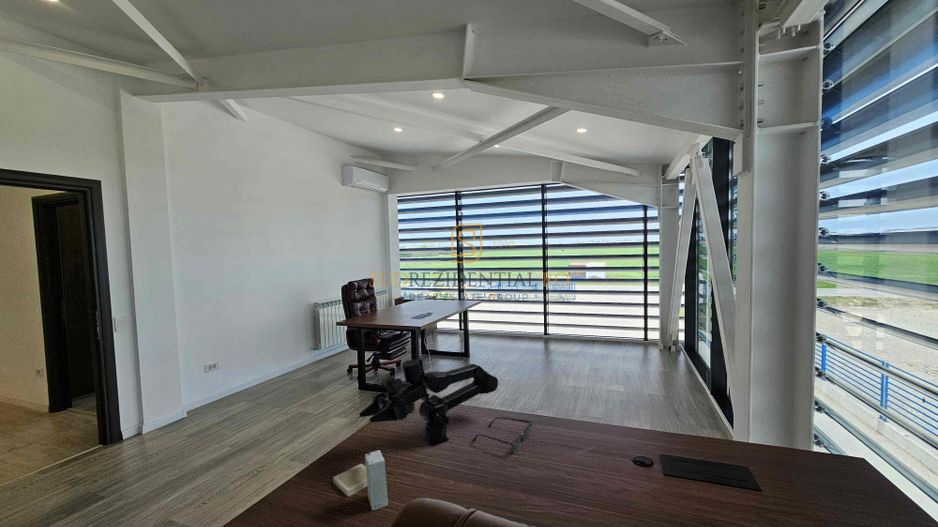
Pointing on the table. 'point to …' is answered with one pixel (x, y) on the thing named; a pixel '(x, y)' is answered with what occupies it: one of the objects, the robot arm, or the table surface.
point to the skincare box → (376, 480)
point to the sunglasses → (516, 443)
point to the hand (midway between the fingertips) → (364, 417)
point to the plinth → (352, 480)
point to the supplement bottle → (412, 408)
